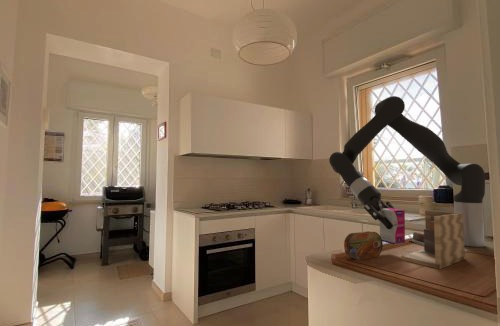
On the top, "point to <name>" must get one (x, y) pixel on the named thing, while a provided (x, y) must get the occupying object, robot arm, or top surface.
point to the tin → (363, 245)
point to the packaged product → (422, 239)
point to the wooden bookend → (440, 240)
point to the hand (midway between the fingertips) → (396, 226)
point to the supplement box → (398, 229)
